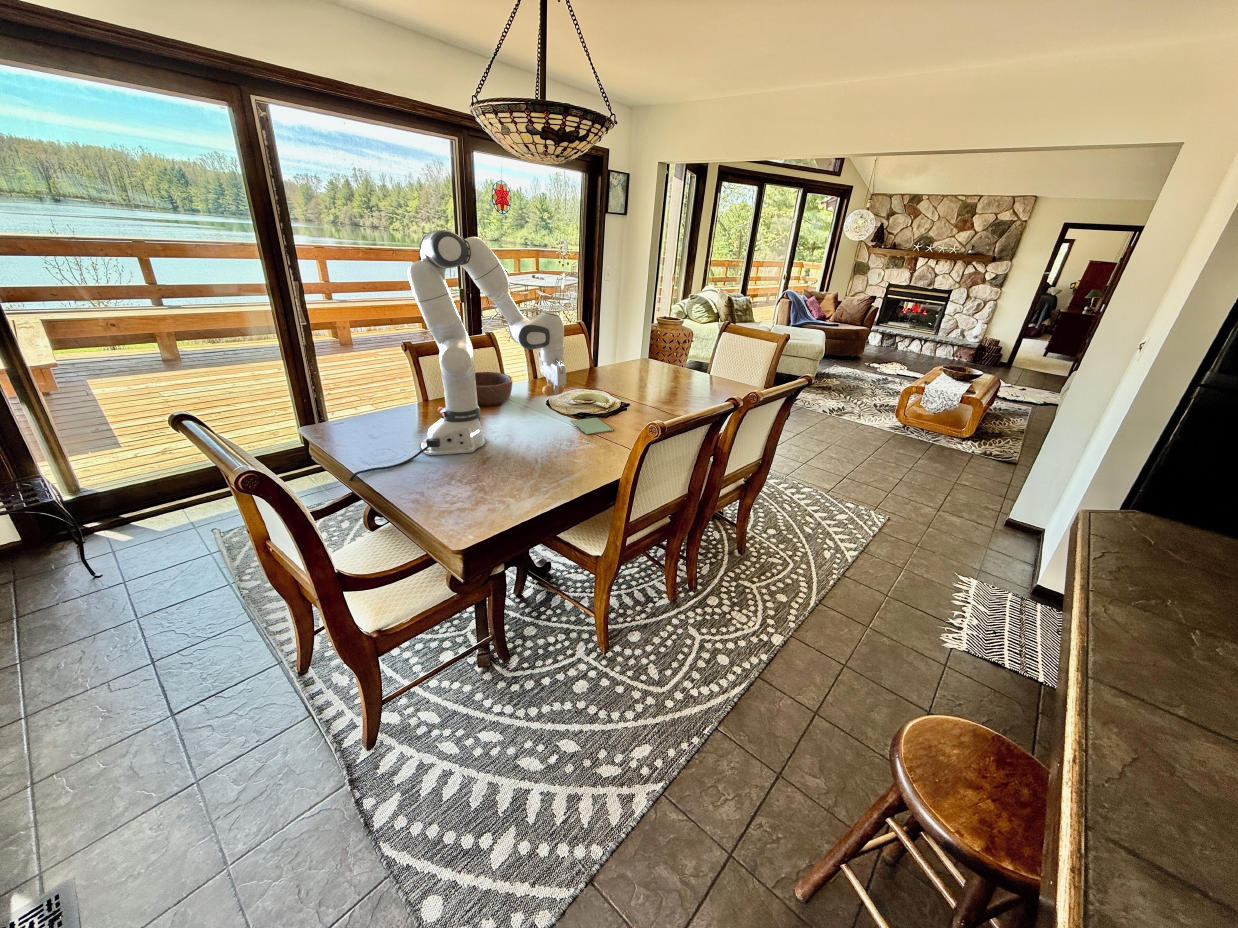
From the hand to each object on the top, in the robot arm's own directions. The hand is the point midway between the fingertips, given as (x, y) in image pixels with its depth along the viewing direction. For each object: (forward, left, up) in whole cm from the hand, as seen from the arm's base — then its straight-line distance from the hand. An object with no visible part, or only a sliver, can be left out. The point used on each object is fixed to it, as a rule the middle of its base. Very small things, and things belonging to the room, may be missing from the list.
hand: (553, 391), depth 189 cm
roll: (0, 0, -2) cm, 2 cm away
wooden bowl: (-17, +46, -16) cm, 52 cm away
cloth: (+16, -2, -16) cm, 23 cm away
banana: (+26, +20, -16) cm, 37 cm away
